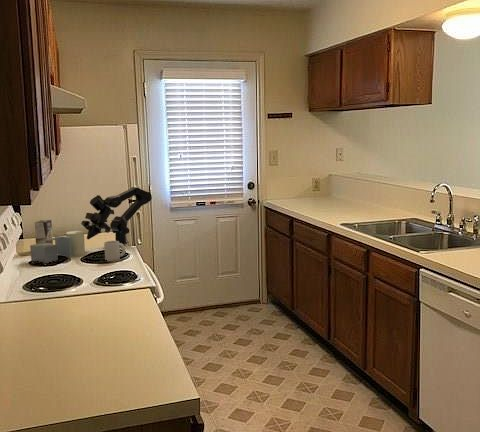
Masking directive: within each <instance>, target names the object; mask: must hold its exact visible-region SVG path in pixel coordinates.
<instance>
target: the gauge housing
mask: <svg viewBox="0 0 480 432" xmlns="http://www.w3.org/2000/svg"><path fill="white" fill-rule="evenodd" d="M29 248H30V258H31V262H35V261H39V262H38V263H40V262H43V263H42V264H45V263H46V264H49V262H51V263H53V262H52V261H55V262H57V261H56V260H58V261H59V259H58V258H59V255H58V254H57V245H55V244H54V243H53V244H51V243H39V244H36V243H34V244H31V245H29Z"/></svg>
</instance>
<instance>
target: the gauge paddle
mask: <svg viewBox="0 0 480 432" xmlns="http://www.w3.org/2000/svg"><path fill="white" fill-rule="evenodd" d="M51 240H53V241H54V243H55V244H54V245H57V254H58V256H60V257H61V256H63V257H69V258H72V257H73V256H72V246H71V237H66V235H65V236H64V235H54V237H53V238H51V239H46V240H45V241H46V243H48V241H51Z"/></svg>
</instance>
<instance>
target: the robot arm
mask: <svg viewBox="0 0 480 432" xmlns="http://www.w3.org/2000/svg"><path fill="white" fill-rule="evenodd" d="M152 196H153V195H152V193H151V192H150V191H147V190H144V189H141V188H140V187H137V186H132V187H130V188H129V189H127V190H125V191H123V192H121V193H118V194H117V195H111V196H107V197H105V199H103V198H102V197H101V195H99V194H96V196H94V197H93V198H91V199H90V200H89V204H90V205H91V206H92V207H93V208H94V209H95V211H97V212H94V213H93V212H86V213H85V216H84V219H85V220H82V221H81V223H80V225H81V226H83V227H84V228H85V229H86V230H87V234H86V235H87V236H86V239H87V240H90V239H92V238H94V237H95V236H97V235H99V234H102V231H103V230H104V232H105V233H107V234H109V233H110V232H112V233H113V234H114V235H115V241H119V243H121V244H123V245H124V246H125V245H126V244H127V245H128V244H129V243H130V241H128V238H127V235H128V234H129V233H130V228H128V224H129V223H128V222H129V221H130V219H132V218H133V217H134V216H135V214H136V213H137V212H139V210H140V209H141V207H142V206H145V205H146V204H149V202H150V201H152V198H153V197H152ZM132 197H135V200H134V202H133V203H132V204H131V205H130V206H129V207H128V208H127V209H126V210H125V211H124V213H122V215H120V216H117V215H116V216H115V217H114V218H113V219H112V220H111V222H110V224H108V218H109V217H110V216H111V215H115V208H118V207H119V206H121V204H122V203H123V202H124V201H126V200H128V199H130V198H132ZM112 208H113V209H112Z"/></svg>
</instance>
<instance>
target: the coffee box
mask: <svg viewBox="0 0 480 432" xmlns="http://www.w3.org/2000/svg"><path fill="white" fill-rule="evenodd" d="M52 224H53V223H52V219H42V220H39V221H35V222H34V234H35V236H34V237H35V244H39V243H46V241H45V240H46V239H51V238H54V237H53V226H52ZM48 243H51V244H53V245H54V240H51V241H48Z"/></svg>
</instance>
